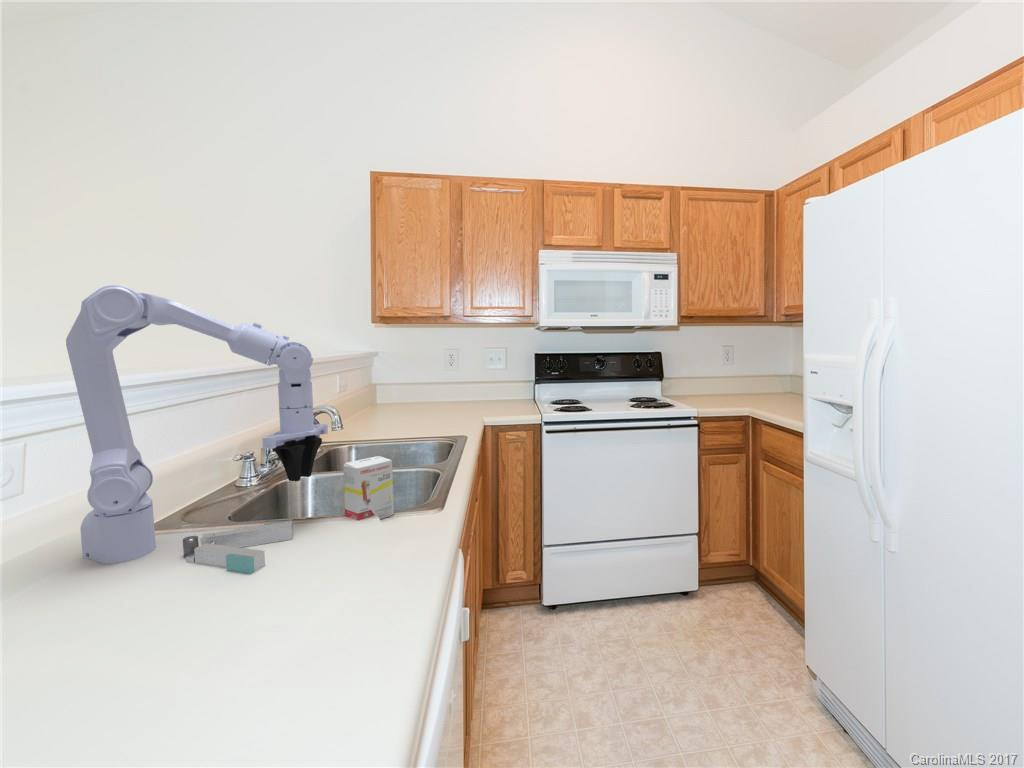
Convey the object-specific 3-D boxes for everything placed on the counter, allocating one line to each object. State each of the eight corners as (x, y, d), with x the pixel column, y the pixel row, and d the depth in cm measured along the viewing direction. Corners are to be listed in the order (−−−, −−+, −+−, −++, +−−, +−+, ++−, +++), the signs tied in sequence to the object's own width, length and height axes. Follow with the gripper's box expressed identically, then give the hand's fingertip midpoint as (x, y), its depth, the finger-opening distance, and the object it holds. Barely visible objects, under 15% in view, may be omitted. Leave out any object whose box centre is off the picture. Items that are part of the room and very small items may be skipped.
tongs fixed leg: (170, 563, 70) (168, 544, 70) (192, 552, 73) (191, 535, 73) (250, 575, 66) (249, 555, 65) (270, 563, 69) (269, 544, 69)
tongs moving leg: (201, 553, 73) (200, 538, 72) (205, 546, 75) (204, 532, 75) (291, 539, 78) (291, 525, 77) (292, 533, 80) (292, 520, 80)
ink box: (358, 528, 86) (355, 467, 85) (344, 522, 89) (341, 463, 88) (395, 515, 92) (393, 458, 92) (381, 510, 96) (379, 455, 95)
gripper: (284, 412, 76) (288, 491, 77) (339, 402, 90) (342, 469, 91) (251, 411, 78) (255, 488, 79) (309, 402, 92) (312, 467, 93)
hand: (299, 478), depth 85 cm, fingers closed
